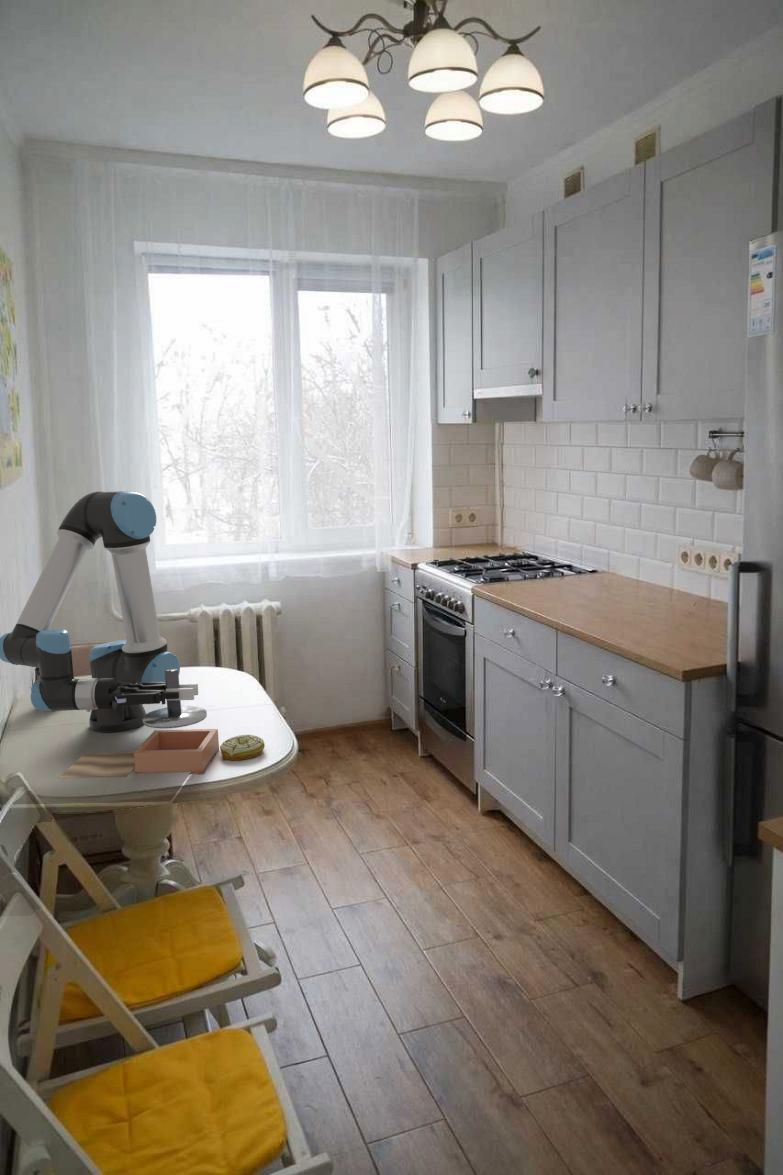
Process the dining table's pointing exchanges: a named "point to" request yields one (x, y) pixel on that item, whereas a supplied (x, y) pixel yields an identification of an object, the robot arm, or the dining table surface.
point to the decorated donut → (242, 747)
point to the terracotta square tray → (177, 751)
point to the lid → (174, 709)
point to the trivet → (101, 765)
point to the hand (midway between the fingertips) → (195, 691)
